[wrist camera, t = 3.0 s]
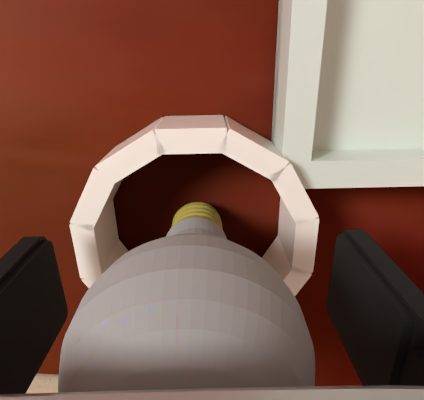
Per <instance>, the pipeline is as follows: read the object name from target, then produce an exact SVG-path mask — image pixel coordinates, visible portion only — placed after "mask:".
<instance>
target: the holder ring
mask: <svg viewBox="0 0 424 400" xmlns="http://www.w3.org/2000/svg"><path fill="white" fill-rule="evenodd" d="M210 153H222V154H224V155H226V156H228V157H229V158H231V159H233V160H235V161H237V162H239V163H241V164H242V165H244V166H246V167H248V168H250V169H252V170H253V171H255V172H257V173H259V174H261V175H263V176H265V177H266V178H268V179H270V180H272V182H273V184H274V186H275V188H276V189H277V191H278V193H279V195H280V210H279V225H278V236H277V237H276V238H275V240H274V241H273V243H272V244H271V245H270V247H269V248H268V250H267V251H266V253H265V254H264V255H263V257H262V259H264V260H265V261H266V262H267V263H268V264H269V265H270V266H271V267H272V268H273V269H274V270H275V271H276V272H277V274H278V275H279V276H280V277H281V279H282V280H283V281H284V282H285V284H286V285H287V286H288V288H289V289H290V290H291V292H292V293H293V295H294V296H296V294H297V293H298V292H299V291H300V289H301V288H302V287H303V286H304V284H305V283H306V282H307V280H308V279H309V278H310V277H311V275H312V274H311V273H313V269H314V260H315V252H316V244H317V235H318V227H319V218H318V217H319V216H318V214H317V212H316V210H315V208H314V206H313V204H312V202H311V200H310V199H309V197H308V195H307V193H306V191H305V189H304V187H303V185H302V183H301V181H300V180H299V178H298V176H297V174H296V172H295V170H294V168H293V166H292V164H291V163H290V162H289V161H288V159H286V157H285V156H283V155H282V154H281V153H280V152H279V151H278V149H277V148H276V147H275V146H274V144H273V143H272V142H271V141H269V140H267V139H266V138H264V137H262V136H260V135H259V134H257V133H255V132H253V131H252V130H250V129H248V128H246V127H245V126H243V125H241V124H239V123H238V122H236V121H234V120H232V119H230V118H229V117H227V116H225V117H223V115H196V116H165V117H164V118H163V117H161V118H160V119H158V120H157V121H155V122H153V123H152V124H150V125H149V126H147V127H146V128H144V129H142V130H141V131H139V132H138V133H136V134H135V135H133V136H131V137H130V138H128V139H127V140H125V141H124V142H122V143H120V144H119V145H117V146H116V147H115V148H114V149H112V150H111V151H110V152H109V153H108V154H107V155H106V156H105V157H104V158H103V159H102V160H101V161H100V162H99V163H98V164H97V165H96V166H95V167H94V168H93V170H92V172H91V174H90V177H89V179H88V181H87V184H86V186H85V188H84V190H83V193H82V195H81V197H80V200H79V202H78V204H77V207H76V209H75V211H74V213H73V216H72V218H71V220H70V230H71V235H72V240H73V245H74V250H75V254H76V259H77V264H78V269H79V274H80V278H83V279H82V281H83V282H84V284H85V285H86V286H87V287H88V288H90V287H91V286H92V284H93V283H94V282H95V281H96V280H97V279H98V278H99V277H100V276H101V275H102V274H103V273H104V272H105V271H106V270H107V269H108V268H109V267H110V266H111V265H112V264H113V263H114V262H115V261H116V260H117V259H119V258H120V257H121V256H123V255H124V254H125V253H127V252H129V251H128V250H127V248H126V247H125V246H124V245H123V243H122V242H121V241H120V240H119V237H118V230H117V223H116V217H115V210H114V203H113V199H114V196H115V194H116V192H117V190H118V188H119V186H120V184H121V182H122V180H123V178H125V177H126V176H128V175H130V174H131V173H133V172H134V171H136V170H138V169H139V168H141V167H143V166H144V165H146V164H148V163H149V162H151V161H152V160H154V159H156V158H157V157H159V156H161V155H162V154H210Z"/></svg>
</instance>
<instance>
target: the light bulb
mask: <svg viewBox="0 0 424 400" xmlns="http://www.w3.org/2000/svg"><path fill="white" fill-rule="evenodd" d="M304 386H315V352H314V347H313V343H312V339H311V337H310V334H309V331H308V328H307V325H306V322H305V319H304V316H303V313H302V310H301V308H300V305H299V303H298V301H297V300H296V298H295V296H294V295H293V293H292V292H291V290H290V289H289V288H288V286H287V285H286V284H285V282H284V281H283V280H282V279H281V277H280V276H279V275H278V274H277V272H276V271H275V270H274V269H273V268H272V267H271V266H270V265H269V264H268V263H267V262H266V261H265V260H264V259H262V258H261V257H260V256H258V255H257V254H256V253H254V252H252V251H251V250H249V249H247V248H245V247H243V246H241V245H239V244H236V243H234V242H232V241H229V240H227V238H226V236H225V233H224V232H223V229H222V222H221V218H220V215H219V213H218V212H217V211H216V209H214V208H213V207H212V206H210V205H209V204H206V203H203V202H193V203H189V204H187V205H184V206H183V207H181V208H180V209H179V210H178V211H177V213H176V214H175V216H174V218H173V222H172V227H171V229H170V230H169V232H168V233H167V235H166V237H163V238H159V239H156V240H153V241H150V242H147V243H145V244H142V245H140V246H138V247H136V248H134V249H132V250H130V251H129V252H127V253H125V254H124V255H123V256H121V257H120V258H119V259H117V260H116V261H115V262H114V263H113V264H112V265H111V266H110V267H109V268H108V269H107V270H106V271H105V272H104V273H103V274H102V275H101V276H100V277H99V278H98V279H97V280H96V281H95V282H94V283H93V284H92V286H91V287H90V288H89V289H88V291H87V292H86V294H85V295H84V297H83V298H82V300H81V302H80V305H79V307H78V309H77V311H76V313H75V315H74V317H73V319H72V322H71V324H70V326H69V328H68V330H67V332H66V334H65V337H64V340H63V343H62V349H61V356H60V367H59V378H58V392H91V391H126V390H164V389H206V388H250V387H304Z"/></svg>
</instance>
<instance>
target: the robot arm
mask: <svg viewBox="0 0 424 400" xmlns="http://www.w3.org/2000/svg"><path fill="white" fill-rule="evenodd" d="M327 310H328V314H329V316H330V318H331V320H332V322H333V324H334V326H335V328H336V330H337V332H338V335H339V337H340V339H341V341H342V343H343V345H344V347H345V349H346V351H347V353H348V355H349V357H350V359H351V361H352V363H353V366H354V368H355V370H356V372H357V374H358V376H359V378H360V380H361V382H362V384H363V386H304V387H250V388H206V389H164V390H126V391H91V392H58V393H26V392H27V390H28V388H29V387H30V385H31V383H32V381H33V379H34V377H35V376H36V374H37V372H38V370H39V368H40V366H41V365H42V363H43V361H44V359H45V357H46V355H47V354H48V352H49V350H50V348H51V346H52V345H53V343H54V341H55V339H56V337H57V335H58V334H59V332H60V330H61V328H62V326H63V324H64V323H65V321H66V318H67V313H68V310H67V304H66V300H65V296H64V291H63V287H62V283H61V278H60V274H59V270H58V265H57V261H56V257H55V252H54V248H53V244H52V242H51V241H47V239H46V238H45V237H43V236H40V237H23V238H22V239H21V240H20V241H19V242H18V243H17V244H16V245H14V246H13V247H12V248H11V249H10V250H9V251H8V252H7V253H6V254H5V255H4V256H3V257H2V258H1V259H0V400H424V294H423V292H422V291H421V290H420V289H419V288H418V287H417V286H416V285H415V284H414V283H413V282H412V281H411V280H410V279H409V277H408V276H407V275H406V274H405V273H404V272H403V271H402V270H401V269H400V268H399V267H398V266H397V265H396V264H395V263H394V261H393V260H392V259H391V258H390V257H389V256H388V255H387V254H386V253H385V252H384V251H383V250H382V249H381V248H380V247H379V245H378V244H377V243H376V242H375V241H374V240H373V239H372V238H371V237H370V236H369V235H368V234H367V233H366V232H365V231H364V230H344V231H343V232H342V234H338V235H337V237H336V242H335V249H334V256H333V263H332V270H331V277H330V284H329V291H328V298H327Z"/></svg>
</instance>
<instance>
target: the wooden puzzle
mask: <svg viewBox="0 0 424 400" xmlns="http://www.w3.org/2000/svg"><path fill="white" fill-rule="evenodd" d="M58 378H59V375H58V374H36V376H35V377H34V379H33V381H32V383H31V385H30V387H29V388H28V390H27V392H26V393H58Z"/></svg>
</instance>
